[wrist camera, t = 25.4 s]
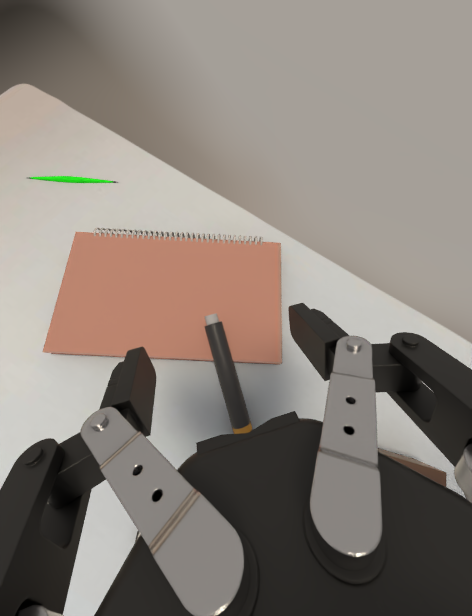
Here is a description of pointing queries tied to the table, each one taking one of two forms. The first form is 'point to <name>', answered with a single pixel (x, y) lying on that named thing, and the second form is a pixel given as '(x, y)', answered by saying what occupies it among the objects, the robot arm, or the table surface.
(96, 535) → the table surface
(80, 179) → the green pen
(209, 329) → the stylus
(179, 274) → the notebook
